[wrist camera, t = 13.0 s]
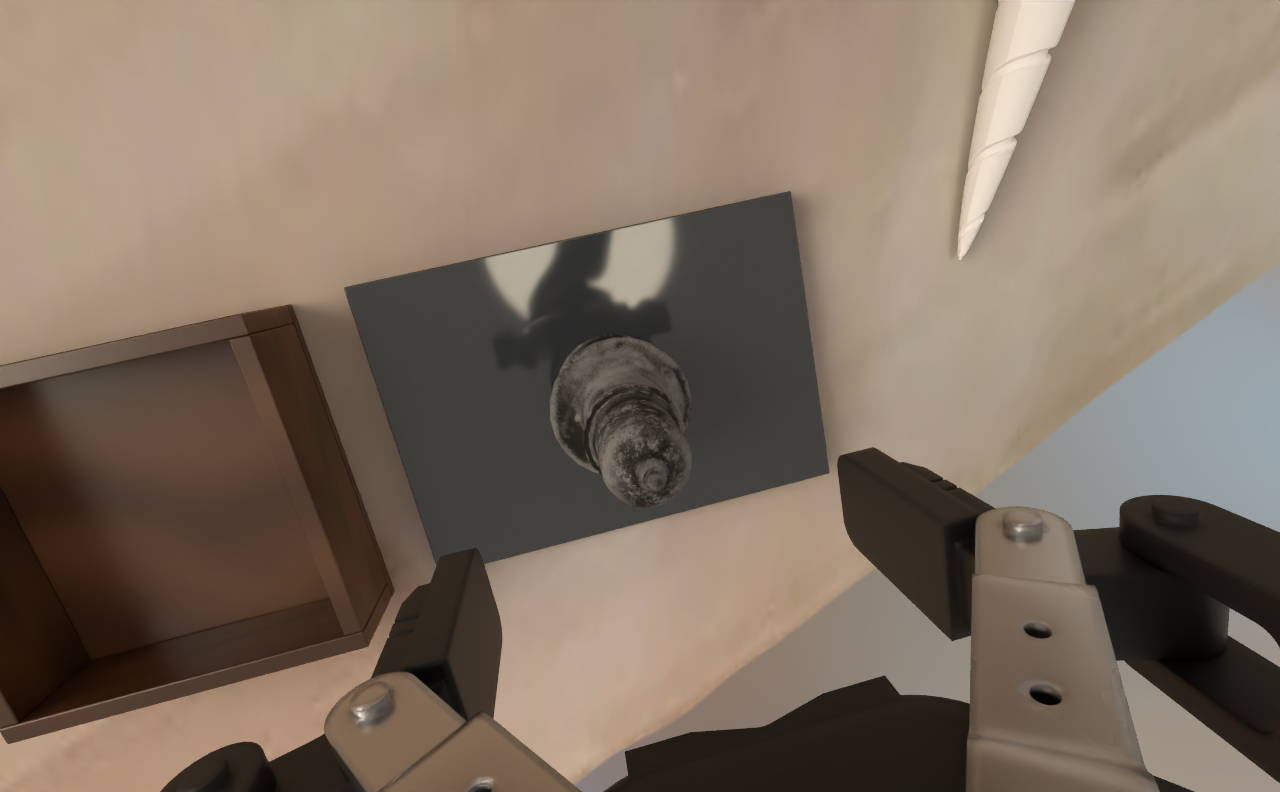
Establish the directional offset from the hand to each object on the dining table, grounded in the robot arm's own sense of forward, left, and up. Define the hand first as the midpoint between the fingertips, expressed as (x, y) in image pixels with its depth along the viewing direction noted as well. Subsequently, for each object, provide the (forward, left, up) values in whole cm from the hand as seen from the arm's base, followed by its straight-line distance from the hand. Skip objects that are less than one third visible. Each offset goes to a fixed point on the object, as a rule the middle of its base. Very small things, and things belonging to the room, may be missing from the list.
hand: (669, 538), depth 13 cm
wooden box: (+1, -20, -17) cm, 26 cm away
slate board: (0, 0, -17) cm, 17 cm away
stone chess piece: (0, 0, -16) cm, 16 cm away
